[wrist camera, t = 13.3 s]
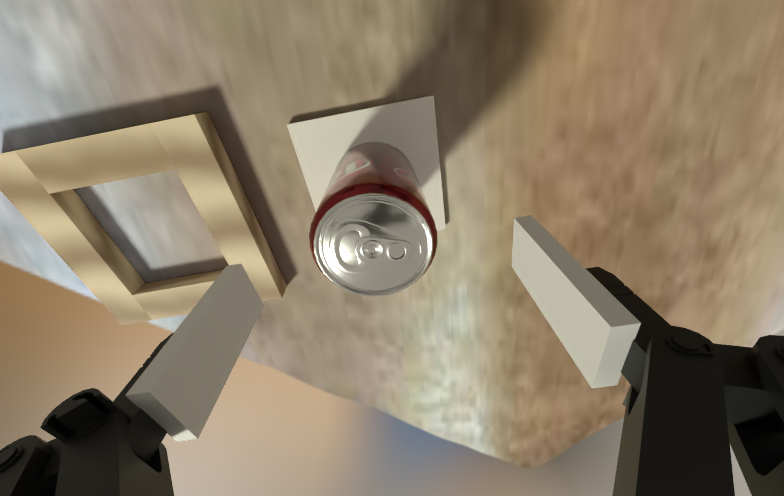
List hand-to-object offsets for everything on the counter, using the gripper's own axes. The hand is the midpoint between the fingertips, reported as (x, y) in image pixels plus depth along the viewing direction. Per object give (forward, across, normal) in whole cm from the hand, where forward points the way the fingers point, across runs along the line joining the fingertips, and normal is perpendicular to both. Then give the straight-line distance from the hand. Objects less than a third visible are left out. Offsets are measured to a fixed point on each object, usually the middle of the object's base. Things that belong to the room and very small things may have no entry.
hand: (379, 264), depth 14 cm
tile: (+14, -1, 0) cm, 15 cm away
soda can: (+14, -1, 0) cm, 14 cm away
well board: (+14, -22, -2) cm, 26 cm away
